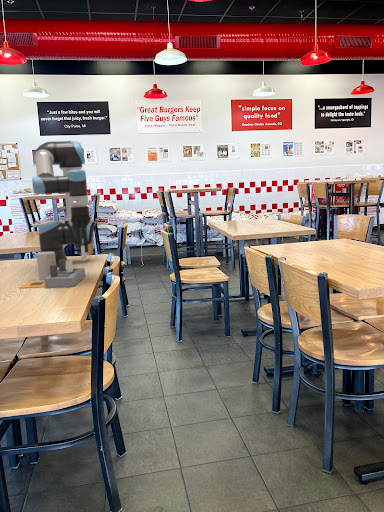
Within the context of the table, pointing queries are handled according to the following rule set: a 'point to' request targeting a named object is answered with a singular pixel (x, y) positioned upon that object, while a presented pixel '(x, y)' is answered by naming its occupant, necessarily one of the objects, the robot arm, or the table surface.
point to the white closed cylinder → (45, 263)
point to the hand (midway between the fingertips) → (84, 259)
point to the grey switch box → (63, 276)
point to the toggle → (69, 265)
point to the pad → (34, 284)
